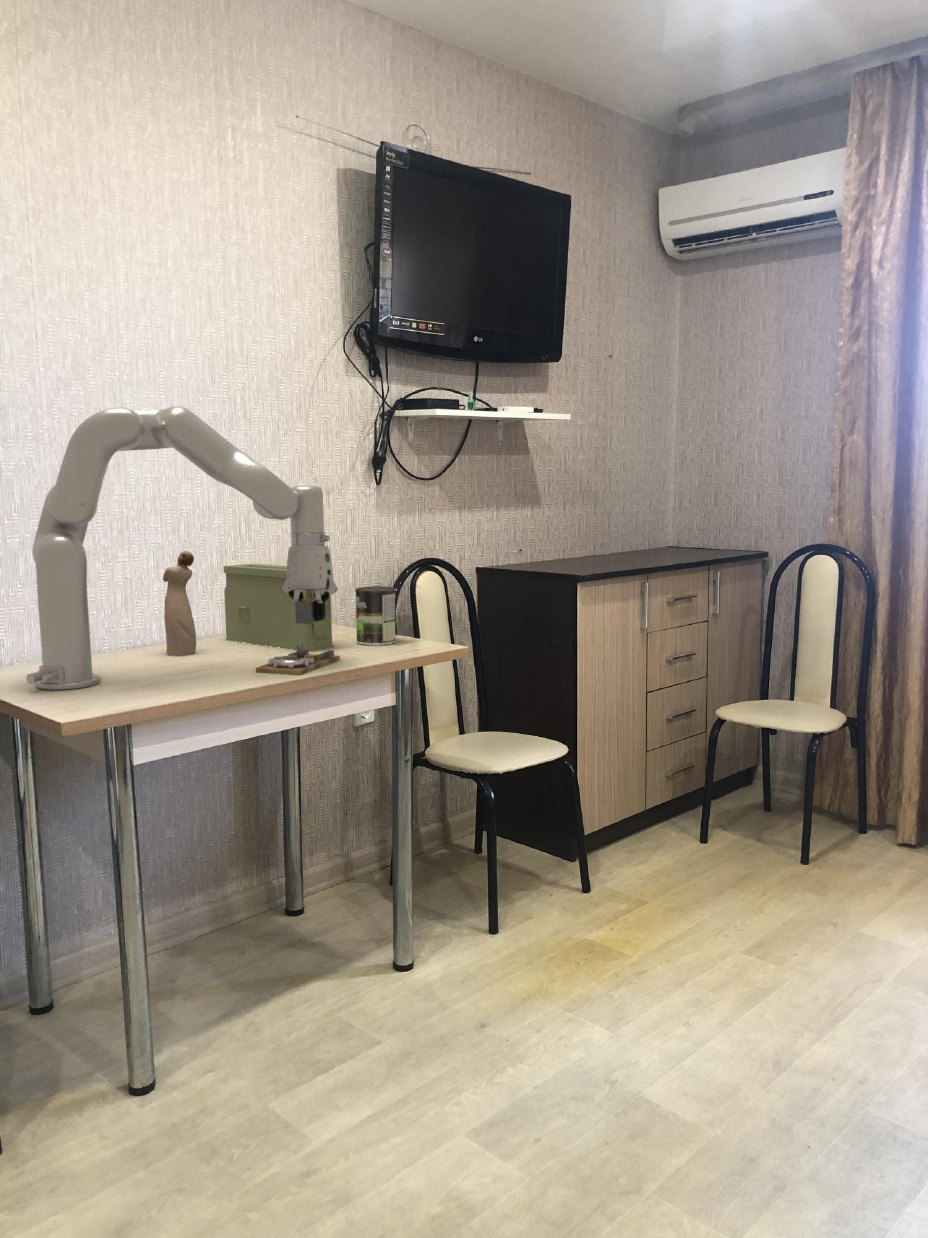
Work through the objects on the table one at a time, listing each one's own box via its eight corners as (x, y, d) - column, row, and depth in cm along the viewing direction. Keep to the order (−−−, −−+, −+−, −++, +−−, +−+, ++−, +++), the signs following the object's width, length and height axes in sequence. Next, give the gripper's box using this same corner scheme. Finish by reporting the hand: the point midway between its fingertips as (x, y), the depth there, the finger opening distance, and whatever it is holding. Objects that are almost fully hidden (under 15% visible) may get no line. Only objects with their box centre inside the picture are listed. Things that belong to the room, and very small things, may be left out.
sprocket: (259, 664, 220) (258, 648, 219) (291, 657, 227) (290, 642, 227) (291, 669, 214) (290, 652, 213) (322, 662, 222) (322, 645, 221)
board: (300, 675, 214) (300, 665, 214) (255, 672, 218) (255, 662, 217) (340, 659, 232) (339, 650, 231) (298, 657, 235) (298, 648, 235)
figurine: (202, 650, 247) (198, 549, 243) (190, 656, 238) (185, 552, 235) (172, 650, 247) (167, 550, 244) (158, 656, 239) (153, 552, 236)
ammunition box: (310, 652, 242) (307, 571, 239) (224, 640, 262) (220, 565, 259) (338, 647, 249) (336, 568, 247) (252, 635, 270) (249, 562, 267)
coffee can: (364, 647, 249) (362, 591, 247) (351, 641, 259) (349, 587, 257) (402, 643, 254) (401, 589, 252) (388, 638, 263) (387, 585, 261)
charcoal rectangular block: (311, 623, 225) (310, 601, 224) (295, 623, 226) (295, 601, 225) (325, 619, 231) (325, 597, 230) (310, 619, 232) (309, 597, 232)
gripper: (348, 539, 227) (350, 618, 229) (283, 539, 232) (287, 616, 235) (333, 541, 220) (336, 623, 222) (267, 541, 225) (270, 620, 228)
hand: (310, 618), depth 228 cm, fingers closed on charcoal rectangular block, 4 cm apart
